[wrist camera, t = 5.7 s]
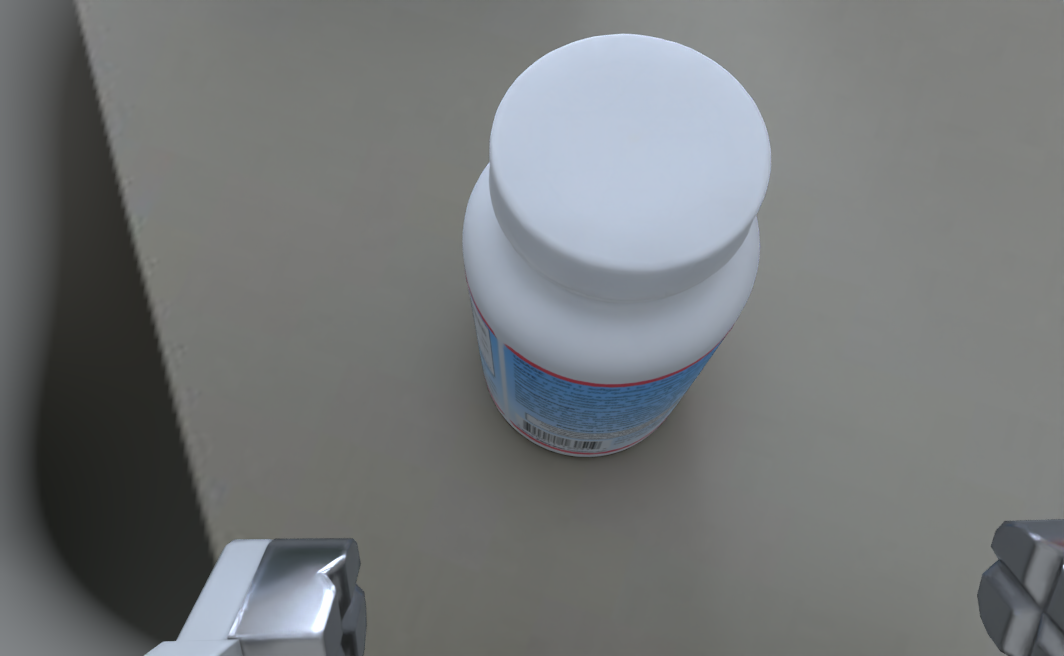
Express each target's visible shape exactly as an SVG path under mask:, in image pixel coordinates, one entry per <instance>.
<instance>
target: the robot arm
mask: <svg viewBox="0 0 1064 656" xmlns="http://www.w3.org/2000/svg"><path fill="white" fill-rule="evenodd" d="M991 548H992V549H993V551H994V553H995V554H996V556H997V558H998V561H996V562H995V563H994V564H993V565H992V566H991V567H990V568H989V569H988V570H986V571H985V572H984V573H983V574H982V578H981V582H980V586H979V590H978V594H977V597H978V604H979V611H980V617H981V619H982V622H983V624H984V626H985V629H986V631H987V633H988V635H989V636H990V638H991V639H992V640H993V642H994V643H995V645H996V646H997V647H998V649H999V650H1000V651H1001V652H1003V653H1004V654H1006V655H1008V656H1064V519H1047V520H1017V521H1004V522H1003V523H1002V525H1001V526H1000V527H999V528H998V529H997V530H996V532H995V535H994V538H993V541H992V544H991ZM360 565H361V563H360V557H359V551H358V545H357V542H356V541H355V540H354V539H353V538H308V539H274V540H271V539H243V540H233V541H232V542H230V543H229V544H228V545H226V546H225V548H224V549H223V551H222V553H221V555H220V557H219V559H218V561H217V563H216V565H215V567H214V569H213V570H212V572H211V574H210V576H209V578H208V580H207V582H206V584H205V586H204V588H203V590H202V592H201V594H200V596H199V598H198V599H197V601H196V603H195V605H194V607H193V609H192V611H191V613H190V615H189V617H188V619H187V621H186V623H185V624H184V627H183V629H182V630H181V632H180V634H179V636H178V638H177V640H176V641H167V642H162V643H161V644H159V645H158V646H156V647H155V648H154V649H152V650H151V651H149V652H148V653H147V654H145V655H144V656H363V655H364V650H365V640H366V628H367V618H366V601H365V593H364V591H363V590H362V589H361V588H360V587H359V586H358V585H357V584H356V581H357V577H358V573H359V569H360Z"/></svg>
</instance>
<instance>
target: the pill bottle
mask: <svg viewBox="0 0 1064 656" xmlns="http://www.w3.org/2000/svg"><path fill="white" fill-rule="evenodd" d="M489 161H490V162H489V163H488V165H487V166H486V168H485V169H484V170H483V172H482V174H481V176H480V177H479V179H478V181H477V183H476V185H475V187H474V189H473V191H472V194H471V196H470V199H469V202H468V206H467V209H466V214H465V218H464V226H463V257H464V266H465V273H466V279H467V284H468V291H469V295H470V300H471V306H472V311H473V317H474V322H475V328H476V334H477V339H478V344H479V351H480V356H481V361H482V367H483V372H484V377H485V380H486V383H487V386H488V389H489V392H490V395H491V397H492V399H493V401H494V403H495V404H496V406H497V408H498V410H499V411H500V412H501V414H502V415H503V417H504V418H505V419H506V420H507V421H508V423H509V424H510V425H511V426H512V427H513V428H514V429H516V430H517V431H518V432H519V433H520V434H521V435H523V436H524V437H526V438H527V439H529V440H530V441H532V442H533V443H535V444H537V445H539V446H541V447H543V448H545V449H548V450H550V451H553V452H557V453H560V454H565V455H570V456H577V457H596V456H604V455H609V454H613V453H616V452H620V451H622V450H625V449H627V448H630V447H632V446H634V445H635V444H637V443H639V442H641V441H642V440H644V439H645V438H646V437H648V436H649V435H650V434H651V433H652V432H654V431H655V430H656V429H657V428H658V427H659V426H660V425H661V424H662V423H663V421H664V420H665V419H666V418H667V417H668V415H669V414H670V413H671V412H672V410H673V409H674V408H675V407H676V405H677V404H678V403H679V401H680V400H681V398H682V397H683V395H684V394H685V393H686V391H687V390H688V389H689V387H690V386H691V384H692V383H693V382H694V380H695V379H696V378H697V376H698V375H699V374H700V372H701V370H702V369H703V367H704V366H705V365H706V363H707V362H708V360H709V359H710V358H711V356H712V355H713V353H714V352H715V350H716V349H717V348H718V346H719V345H720V343H721V342H722V341H723V339H724V338H725V336H726V335H727V334H728V332H729V331H730V330H731V329H732V327H733V325H734V323H735V322H736V320H737V319H738V317H739V315H740V313H741V311H742V310H743V308H744V306H745V304H746V302H747V300H748V298H749V296H750V294H751V291H752V288H753V285H754V282H755V278H756V274H757V270H758V264H759V255H760V234H759V227H758V220H757V216H756V214H757V212H758V210H759V208H760V206H761V204H762V202H763V199H764V197H765V195H766V191H767V187H768V183H769V178H770V173H771V147H770V141H769V136H768V132H767V129H766V126H765V123H764V120H763V118H762V116H761V114H760V111H759V110H758V108H757V106H756V104H755V102H754V101H753V99H752V98H751V96H750V95H749V94H748V93H747V91H746V90H745V89H744V88H743V86H742V85H741V84H740V83H739V82H738V81H737V80H736V79H735V78H734V77H733V76H732V75H731V74H730V73H729V72H728V71H726V70H725V69H724V68H723V67H721V66H720V65H719V64H717V63H716V62H715V61H713V60H711V59H710V58H708V57H706V56H704V55H703V54H701V53H699V52H697V51H695V50H693V49H691V48H689V47H686V46H683V45H681V44H679V43H676V42H672V41H668V40H664V39H661V38H655V37H650V36H644V35H636V34H613V35H603V36H596V37H590V38H586V39H583V40H579V41H576V42H572V43H570V44H567V45H565V46H563V47H560V48H558V49H556V50H554V51H552V52H550V53H548V54H546V55H545V56H543V57H542V58H540V59H539V60H537V61H536V62H535V63H533V64H532V65H531V66H529V67H528V68H527V69H526V70H525V71H524V72H523V73H522V74H521V75H520V76H519V77H518V78H517V79H516V80H515V81H514V83H513V84H512V85H511V87H510V88H509V89H508V91H507V92H506V94H505V96H504V98H503V99H502V101H501V103H500V105H499V107H498V109H497V111H496V114H495V118H494V122H493V126H492V130H491V136H490V159H489Z"/></svg>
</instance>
